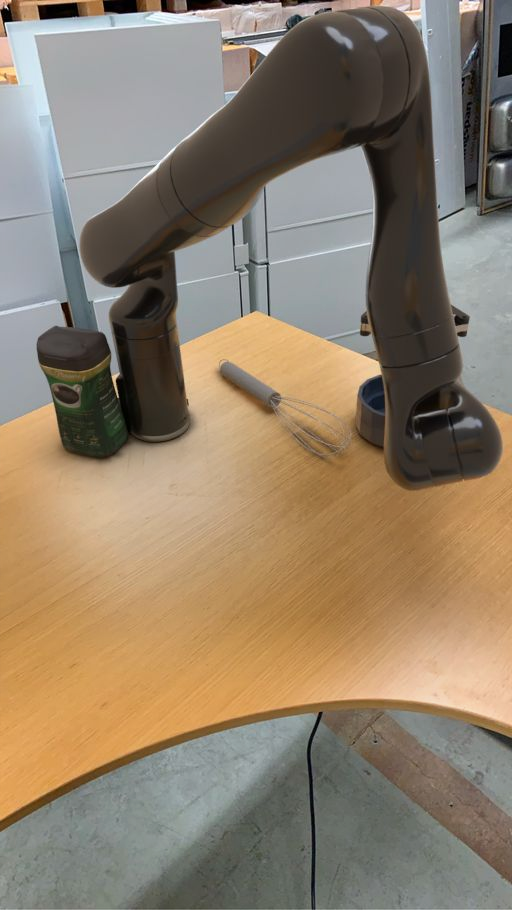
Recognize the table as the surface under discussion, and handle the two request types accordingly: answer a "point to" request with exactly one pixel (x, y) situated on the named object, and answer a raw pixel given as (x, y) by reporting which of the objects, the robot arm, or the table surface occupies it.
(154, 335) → the robot arm
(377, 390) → the bowl
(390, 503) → the table surface
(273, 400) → the kitchen whisk
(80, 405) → the coffee jar
